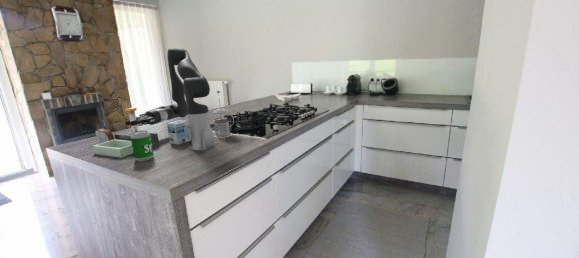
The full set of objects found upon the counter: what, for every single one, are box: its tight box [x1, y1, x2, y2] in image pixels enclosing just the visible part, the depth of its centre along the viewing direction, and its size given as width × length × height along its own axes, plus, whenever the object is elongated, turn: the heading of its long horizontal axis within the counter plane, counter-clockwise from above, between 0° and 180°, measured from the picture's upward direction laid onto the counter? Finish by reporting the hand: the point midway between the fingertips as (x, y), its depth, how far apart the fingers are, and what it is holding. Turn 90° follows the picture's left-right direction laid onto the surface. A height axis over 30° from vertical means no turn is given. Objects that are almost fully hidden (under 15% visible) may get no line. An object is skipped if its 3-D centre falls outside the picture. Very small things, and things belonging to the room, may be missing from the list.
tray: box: [92, 138, 134, 159], centre depth 131 cm, size 18×11×4 cm, turn 68°
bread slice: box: [94, 127, 115, 144], centre depth 143 cm, size 15×3×8 cm, turn 56°
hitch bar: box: [113, 130, 160, 148], centre depth 140 cm, size 22×7×6 cm, turn 68°
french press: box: [212, 90, 235, 139], centre depth 149 cm, size 10×12×25 cm
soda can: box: [130, 130, 155, 162], centre depth 119 cm, size 8×8×12 cm
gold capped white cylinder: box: [124, 107, 139, 133], centre depth 138 cm, size 5×5×19 cm
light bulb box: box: [166, 118, 191, 145], centre depth 144 cm, size 11×7×11 cm, turn 150°
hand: (128, 123), depth 135 cm, fingers closed on gold capped white cylinder, 2 cm apart
